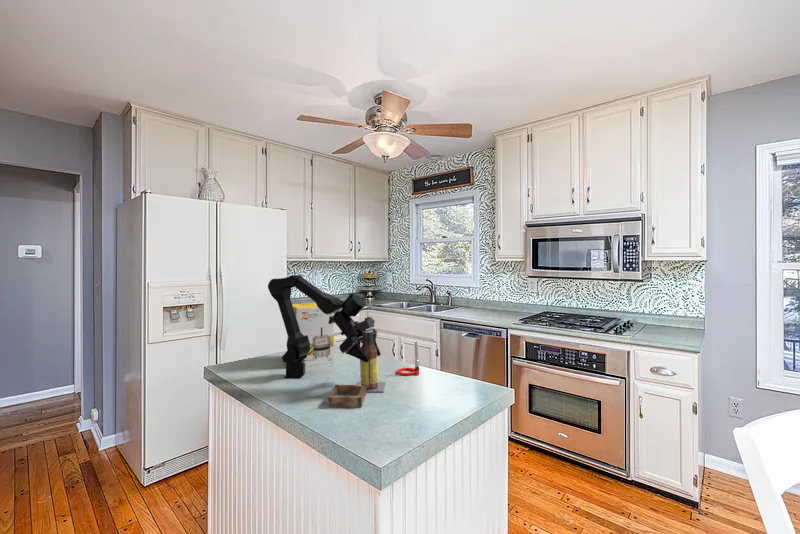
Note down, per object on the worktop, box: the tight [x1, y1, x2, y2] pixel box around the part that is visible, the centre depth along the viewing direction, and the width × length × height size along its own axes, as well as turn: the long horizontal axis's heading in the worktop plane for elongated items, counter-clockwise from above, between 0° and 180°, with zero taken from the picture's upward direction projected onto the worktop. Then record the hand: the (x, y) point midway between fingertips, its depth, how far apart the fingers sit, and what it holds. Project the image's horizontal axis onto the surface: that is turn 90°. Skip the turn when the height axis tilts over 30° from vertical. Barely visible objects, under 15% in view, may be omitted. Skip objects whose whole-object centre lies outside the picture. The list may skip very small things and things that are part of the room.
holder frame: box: [327, 384, 367, 408], centre depth 120 cm, size 10×11×3 cm
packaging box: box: [292, 302, 335, 368], centre depth 167 cm, size 16×16×25 cm
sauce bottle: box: [359, 329, 379, 389], centre depth 131 cm, size 6×6×20 cm
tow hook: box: [395, 340, 420, 377], centre depth 149 cm, size 8×13×9 cm
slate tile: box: [356, 380, 387, 394], centre depth 132 cm, size 10×10×1 cm
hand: (374, 358), depth 131 cm, fingers open, 9 cm apart
